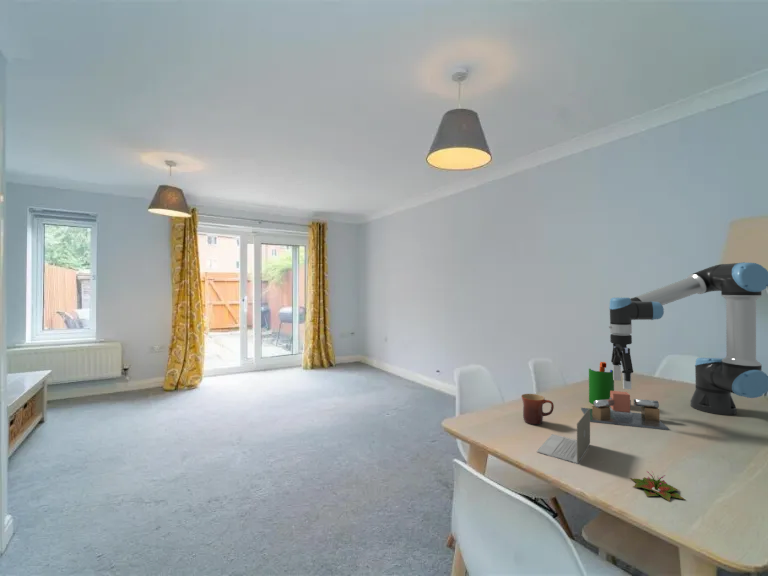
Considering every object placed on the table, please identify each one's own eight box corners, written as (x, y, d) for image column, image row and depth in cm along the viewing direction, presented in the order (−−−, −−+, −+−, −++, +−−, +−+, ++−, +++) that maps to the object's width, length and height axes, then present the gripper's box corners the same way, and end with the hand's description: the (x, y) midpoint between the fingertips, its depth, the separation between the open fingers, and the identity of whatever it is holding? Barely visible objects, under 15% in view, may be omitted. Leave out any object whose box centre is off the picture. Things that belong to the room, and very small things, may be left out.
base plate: (652, 416, 150) (652, 397, 150) (668, 429, 136) (668, 408, 136) (581, 409, 159) (581, 391, 159) (588, 421, 145) (588, 401, 145)
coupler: (628, 408, 151) (628, 392, 151) (631, 412, 147) (631, 395, 147) (608, 406, 153) (608, 390, 153) (611, 410, 149) (611, 393, 149)
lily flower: (643, 502, 92) (643, 484, 92) (621, 476, 103) (621, 461, 103) (696, 506, 90) (696, 489, 89) (667, 480, 101) (667, 464, 101)
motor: (608, 400, 171) (608, 359, 171) (618, 407, 162) (618, 363, 162) (586, 400, 172) (586, 359, 172) (595, 406, 163) (595, 363, 163)
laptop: (552, 435, 132) (551, 400, 132) (590, 445, 124) (590, 408, 124) (536, 453, 118) (536, 414, 118) (578, 465, 110) (578, 423, 110)
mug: (520, 424, 142) (520, 398, 142) (522, 416, 150) (522, 392, 150) (553, 429, 137) (553, 402, 137) (553, 421, 145) (553, 396, 145)
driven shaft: (607, 414, 150) (607, 397, 150) (615, 418, 147) (615, 400, 147) (592, 416, 148) (592, 399, 148) (600, 420, 144) (600, 402, 144)
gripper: (602, 330, 163) (603, 376, 163) (619, 338, 139) (620, 392, 139) (621, 330, 160) (622, 377, 160) (642, 338, 137) (643, 393, 137)
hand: (621, 384), depth 150 cm, fingers open, 13 cm apart
